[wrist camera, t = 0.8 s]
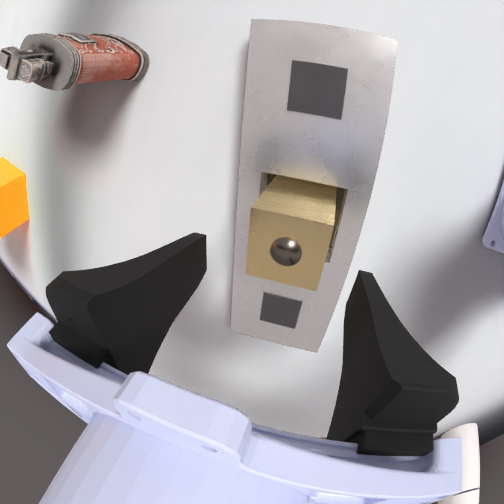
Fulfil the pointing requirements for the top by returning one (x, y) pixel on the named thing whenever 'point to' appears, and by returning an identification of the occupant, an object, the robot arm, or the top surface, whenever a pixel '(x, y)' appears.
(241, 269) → the rail
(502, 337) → the top surface
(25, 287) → the top surface
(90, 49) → the lighter
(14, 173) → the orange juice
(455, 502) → the cylindrical container
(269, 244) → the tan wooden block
